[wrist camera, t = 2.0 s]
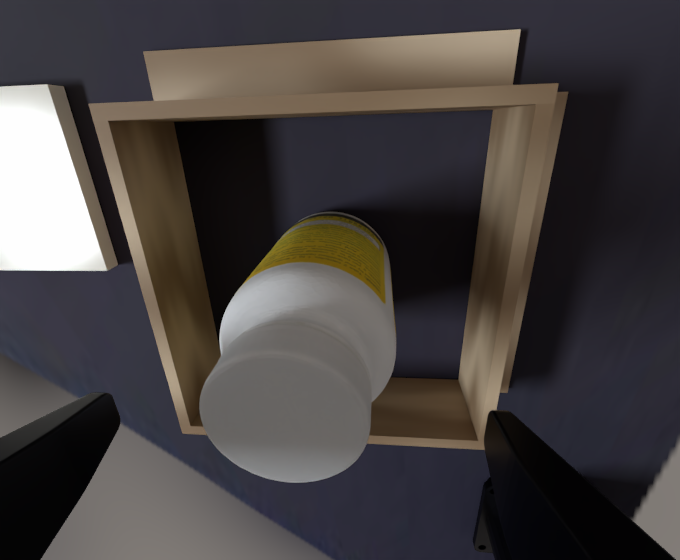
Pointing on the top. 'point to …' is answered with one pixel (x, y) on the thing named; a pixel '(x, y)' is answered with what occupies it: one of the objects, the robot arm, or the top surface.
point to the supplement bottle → (304, 353)
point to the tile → (47, 187)
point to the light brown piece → (336, 100)
